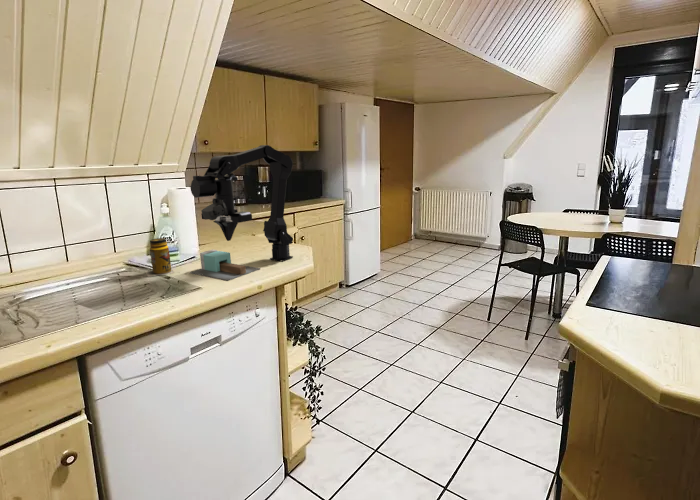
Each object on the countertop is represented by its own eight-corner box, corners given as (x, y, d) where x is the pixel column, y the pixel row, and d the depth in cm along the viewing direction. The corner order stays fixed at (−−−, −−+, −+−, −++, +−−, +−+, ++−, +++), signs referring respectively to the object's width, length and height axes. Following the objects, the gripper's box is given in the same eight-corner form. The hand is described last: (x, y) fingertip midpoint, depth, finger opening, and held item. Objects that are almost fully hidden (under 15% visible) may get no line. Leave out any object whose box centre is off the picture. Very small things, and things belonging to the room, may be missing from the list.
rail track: (223, 262, 153) (221, 246, 152) (260, 269, 144) (258, 252, 142) (189, 273, 141) (187, 255, 140) (227, 280, 131) (225, 262, 130)
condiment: (174, 272, 142) (170, 239, 139) (148, 277, 138) (142, 243, 135) (170, 268, 148) (166, 236, 145) (145, 272, 143) (140, 239, 141)
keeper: (220, 265, 148) (218, 250, 147) (231, 267, 145) (230, 252, 144) (204, 269, 143) (203, 255, 142) (216, 272, 140) (214, 257, 138)
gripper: (185, 196, 132) (191, 242, 136) (225, 198, 123) (229, 248, 126) (212, 193, 141) (217, 236, 145) (251, 194, 132) (255, 241, 136)
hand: (228, 240), depth 138 cm, fingers closed
